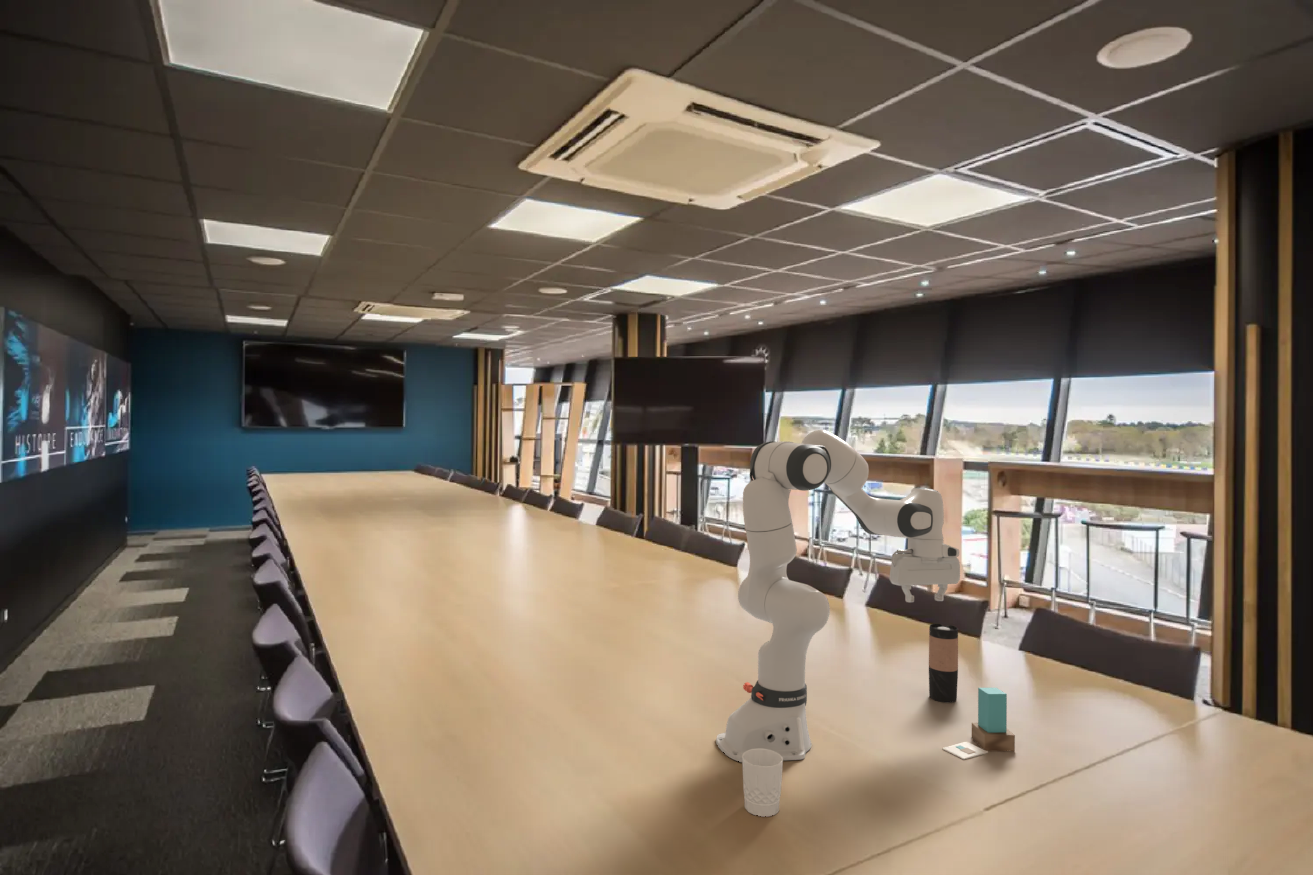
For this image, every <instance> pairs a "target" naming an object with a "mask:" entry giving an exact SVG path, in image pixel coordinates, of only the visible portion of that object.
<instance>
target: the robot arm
mask: <svg viewBox="0 0 1313 875" xmlns="http://www.w3.org/2000/svg"><path fill="white" fill-rule="evenodd" d="M869 468H870V467H869V464H868V462H867V460H866V459H865V458H864V457H863V456H862V454H861V453H860V452H858V450H856V449H855V448H854V447H853V446H851V445H850V444H849V443H848V442H846V441H845V440H844V439H842V438H840V437H839V436H837V435H836V434H833V433H832V432H830V431H828V430H825V429H817V430H813V431H811V432H809V433H808V434H807V435H806V436H805V437H804V438H803V439H802V441H801V443H800V442H799V443H798V442H793V441H774V440H773V441H766V442H764V443H761V444H759V445H757V447H755V448H754V450H753V452H752V454H751V457H750V463H749V469H750V471H749V477H750V481H749V482H748V483H746V485H745V487H744V488H743V492H742V509H743V510H742V512H743V521H744V527H745V535H746V540H747V547H748V553H749V567H748V573H747V576H746V577H745V578H744V579H742V580H743V581H742V582H741V584H740V585H739V589H738V595H737V597H738V598H737V599H738V603H739V605H740V607H741V608H742V609H743V610H744V611H745V612H746V613H748V614H749V615H751V616H752V617H754V618H756V619H759V620H761V621H764V622H767V623H770V624H772V627H773V628H772V633H771V637H770V640H767V641H766V642H764V643H763V644H762V645H761V646H760V647H759V649H758V654H757V655H758V656H757V658H758V659H757V663H758V664H757V674H758V675H757V680H756V682H755V684H754V685H753V684H751V683H750V682H748V681H746V682H745V683H744V684H743V686H742V689H743V690H744V691H745V692H746V693H748V694H751V695H750V697H749V699H747V701H745V702H744V703H743V704H742V705H740V706H739V707H738V708H737V709H736V710H734V711H733V712H732V713H731V714H730V715H729V716H728V718H727V722H726V726H725V727H726V728H725V732H722V733H719V734H717V735H716V740H715V743H716V745H718V746H717V747H718V749H719V750H720V751H721V752H722V753H723V752H724V753H725V754H724V753H723V754H724V755H725V756H727V757H729V758H730V759H731V760H734V761H737V762H738V761H739V763H742V755H743V753H744V752H746V751H747V750H751V749H768V750H772V751H775V752H777V753H779V754H780V755H781V756H782V758H783V761H798V760H804V759H805V757H806V753H807V752H809V750H810V749H812V748H811V747H812V746H813V745H812V741H811V737H810V734H809V728H808V722H807V711H806V710H807V709H806V706H807V703H808V702H807V701H808V692H807V691H808V687H807V683H806V663H807V662H806V661H807V653H808V648H809V645H810V642H811V641H812V639H813V637H814V635H815V634H817V633H818V632H820V631H821V630H822V629H823V628H824V627H825V626H826V625H827V623H828V621H829V618H830V614H831V613H830V612H831V610H830V609H831V608H830V602H829V599H828V598H827V596H826V595H825V593H823V592H822V591H819V590H818V589H816V588H815V587H813V586H811V585H809V584H806V583H803V582H798V581H796V580H795V581H794V580H791V579H789V577H788V575H787V574H788V573H787V571H788V570H787V568H788V564H790V563H791V562H792V561H793V560H794V559H795V557H796V556H797V553H798V548H797V544H796V543H797V542H796V536H795V531H794V525H793V524H794V523H793V518H792V514H791V510H790V506H789V498H790V494H791V491H792V490H799V491H805V492H807V491H811V490H813V491H814V490H815V489H819V488H820V487H821V486H823V484H825V485H827V486H828V488H829V489H830V491H831V492H832V494H834V496H836V498H837V499H838V500H839V501H840V502H842V504H843V505H844V506H845V507H846V508H847V509H849V511H850V512H852V514H853V515H854V516H855V518H856V520H857V522H858V524H859V526H860V527H861V529H862V530H863V531H864V532H865V533H867V534H868V535H872V536H875V535H876V536H889V537H895V538H896V537H897V538H904V539H907V549H900V548H899V549H896V551H894V552H893V553H892V555H891V564H890V570H889V581H890V583H891V584H892V585H896V586H900V587H901V590H902V592H903V594H904V596H905V599H904V600H905V602H906V603H914V602H915V595H912V592H911V591H910V590H912V586H928V585H929V586H930V585H931V586H933V585H937V587H938V590H937V591H936V592H937V593H934V601H937V602H943V601H944V600H945V599H944V596H945V593H946V592H947V590H948V587H949V586H948V585H957V584H958V583H959V582H960V580H961V564H960V563H961V562H960V560H959V556H960V550H959V548H957V547H953V546H951V545H948V544H947V543H944V534H943V525H944V522H945V520H944V518H945V512H944V511H945V510H944V509H945V508H944V500H943V496H942V493H941V492H940V491H938V490H936V489H933V488H926V487H913V488H912V489H911V490H910V493H909V494H908V495H906V496H904V497H903V498H900V499H887V498H886V499H885V498H880V497H873V496H870V495H869V494H868V493H867V492H866V491H865V490H864V489H863V487H864V486H865V484H866V483H867V480H868V479H869V474H870V470H869Z"/></svg>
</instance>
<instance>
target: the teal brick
mask: <svg viewBox="0 0 1313 875" xmlns="http://www.w3.org/2000/svg"><path fill="white" fill-rule="evenodd" d="M977 689H978V693H977V698H978V699H977V702H978V703H977V706H978V707H977V723H978V726H980V727H981V728H983V729H984V730H985V731H987V732H988V733H999V732H1007V729H1008V728H1007V727H1008V725H1007V722H1008V721H1007V716H1008V715H1007V713H1008V712H1007V709H1008V707H1007V706H1008V704H1007V698H1008V695H1007V692H1004V691H1002V690H1001V689H999V688H998V687H977Z"/></svg>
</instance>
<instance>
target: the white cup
mask: <svg viewBox="0 0 1313 875" xmlns="http://www.w3.org/2000/svg"><path fill="white" fill-rule="evenodd" d="M783 762H784V760H783V758H782V756H781V755H780V754H779V753H777V752H775V751H772V750H768V749H751V750H747V751H746V752H744V753H743V755H742V762H741V764H742V783H743V784H742V788H743V796H744V809H745V810H746V811H747V812H748V813H749V814H752V816H756V815H758V816H757V817H760V816H761V818H762V817H764V818H765V816H766V818H767V817H772V815H773V816H775V815H777V814H778V813H780V812H779V811H780V800H781V794H782V793H781V791H782V781H783V777H782V776H783Z"/></svg>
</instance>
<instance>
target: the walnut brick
mask: <svg viewBox="0 0 1313 875" xmlns="http://www.w3.org/2000/svg"><path fill="white" fill-rule="evenodd" d="M971 739H972V740H973V741H974V742H975V743H976V744H977V745H978V747H979V748H981V749H983V750H985V751H988V752H1015V747H1016V745H1015V744H1016V743H1015V741H1016V735H1015V734H1014V733H1013V732H1012V731H1010V729H1008V728H1007V732H999V733H988V732H987V731H985V730H984V729H983V728H981V727H980V726H978V722H971Z"/></svg>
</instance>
